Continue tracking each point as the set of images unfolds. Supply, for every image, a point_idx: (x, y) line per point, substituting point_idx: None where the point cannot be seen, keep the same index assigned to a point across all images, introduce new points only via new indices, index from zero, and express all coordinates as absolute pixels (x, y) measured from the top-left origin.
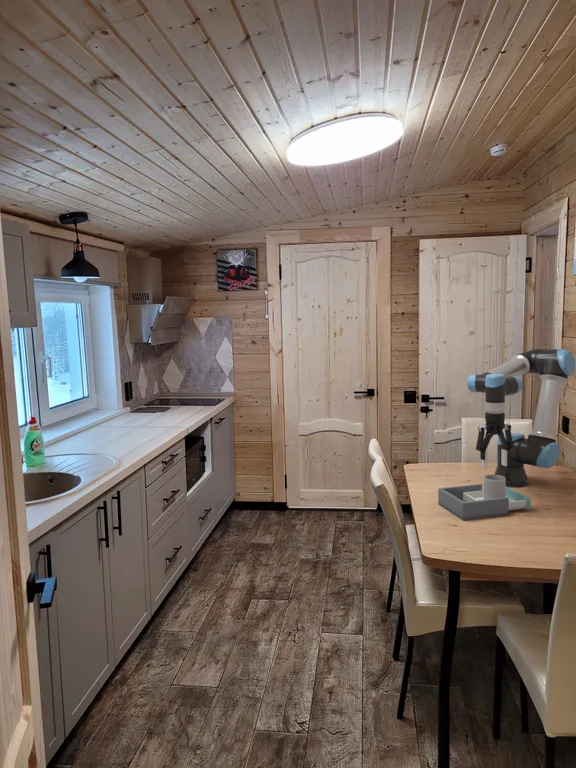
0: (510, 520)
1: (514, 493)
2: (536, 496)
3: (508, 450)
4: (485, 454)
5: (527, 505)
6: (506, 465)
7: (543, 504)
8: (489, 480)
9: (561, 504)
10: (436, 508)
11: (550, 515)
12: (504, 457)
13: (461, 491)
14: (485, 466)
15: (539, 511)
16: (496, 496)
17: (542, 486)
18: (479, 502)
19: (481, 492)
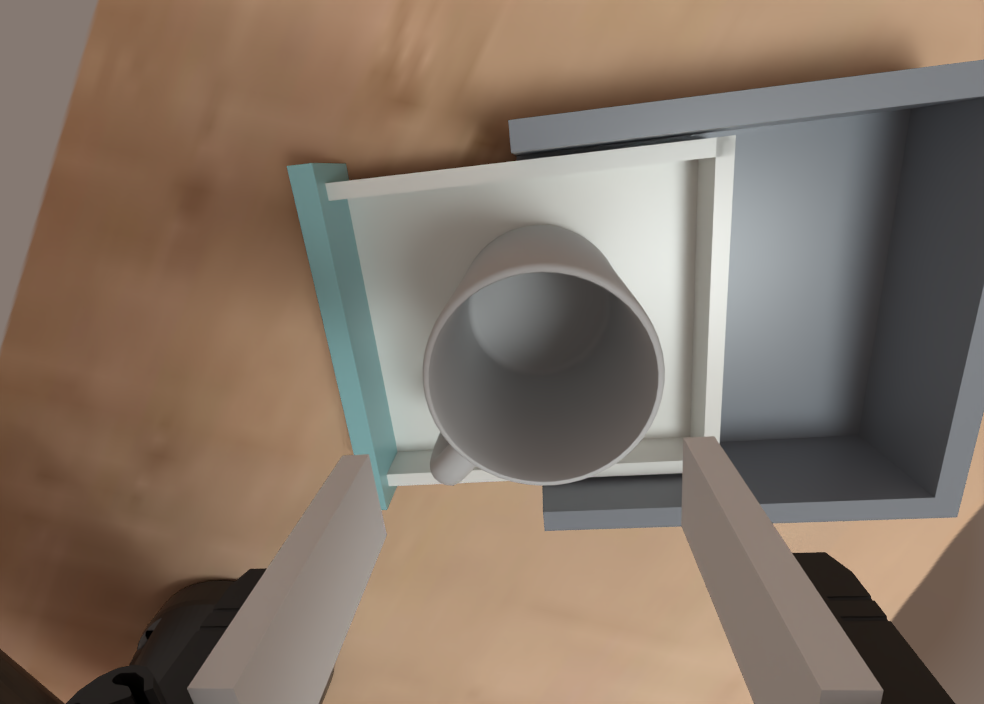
0: (561, 7)
1: (354, 342)
2: (184, 426)
3: (152, 677)
4: (848, 644)
5: (336, 166)
6: (347, 460)
7: (191, 285)
8: (647, 317)
9: (78, 259)
10: None
11: (222, 57)
12: (322, 573)
13: None
14: (723, 456)
15: (267, 159)
16: (569, 240)
17: (96, 559)
18: (850, 77)
19: None
